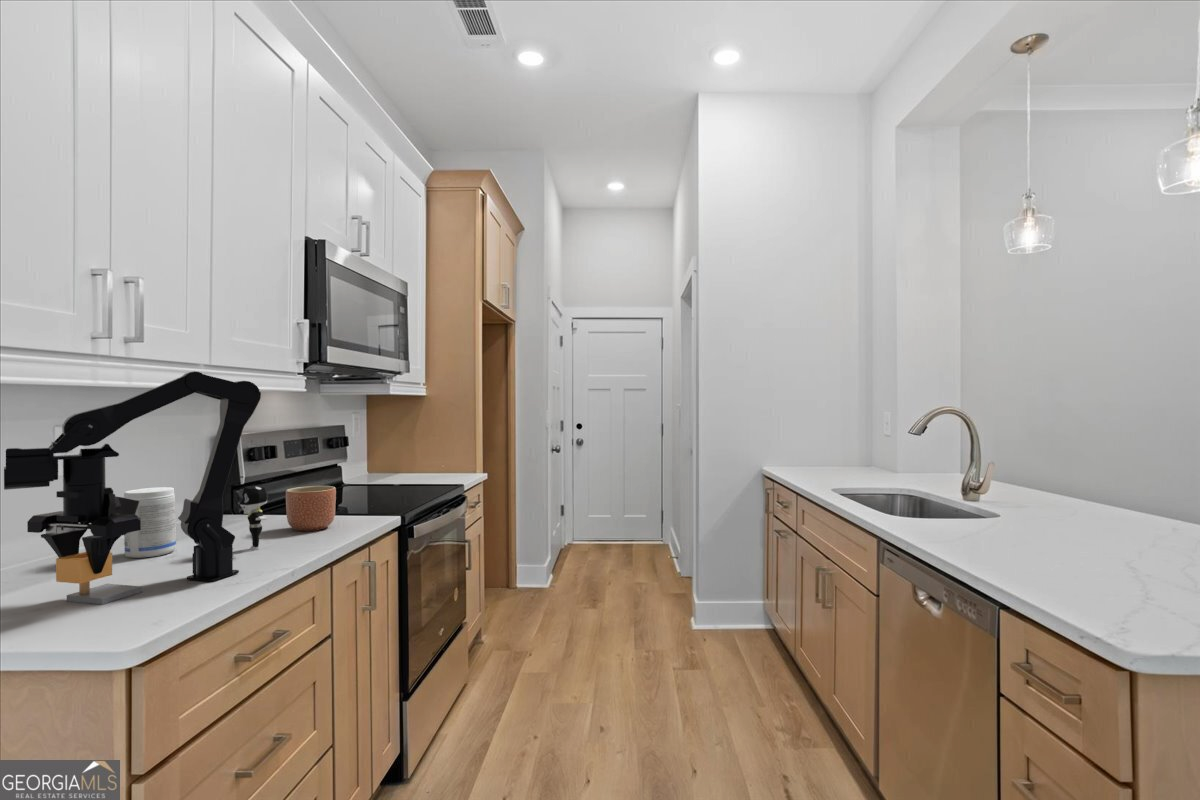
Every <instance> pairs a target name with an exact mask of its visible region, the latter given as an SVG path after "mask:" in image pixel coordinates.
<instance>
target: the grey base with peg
mask: <svg viewBox="0 0 1200 800" xmlns="http://www.w3.org/2000/svg"><path fill="white" fill-rule="evenodd" d="M90 582H91V581H88V582H85V583H81V584H78V585H79V586H78V588H79V591H76V592H73V593H70V594H69V593H68V594H66V602H74V603H84V604H85V603H86V604H95V605H96V604H97V605H105V604H108V603H111V602H114V601H118V600H120V599H123V598H128V597H129V596H133V595H136V594H139V593H142V591H143V590H142V589H143V586H141V585H129V584H128V585H127V584H119V583H118V584H117V583H103V584H101V585H98V586H93V587H90V586H91V583H90Z"/></svg>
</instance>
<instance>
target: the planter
mask: <svg viewBox="0 0 1200 800" xmlns="http://www.w3.org/2000/svg"><path fill="white" fill-rule="evenodd" d="M336 500H337V488H336V487H335V486H331V485H310V486H307V485H306V486H298V487H292V488H288V489H286V490H285V509H286V511H285V512H286V520H287V523H288V525H289V527H291V528H292V529H293V530H295V531H298V532H313V531H319V530H323V529H326V528H328V527H329V526H330V525H331V524H332V523H333V522H334V520H335V517H336Z"/></svg>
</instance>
